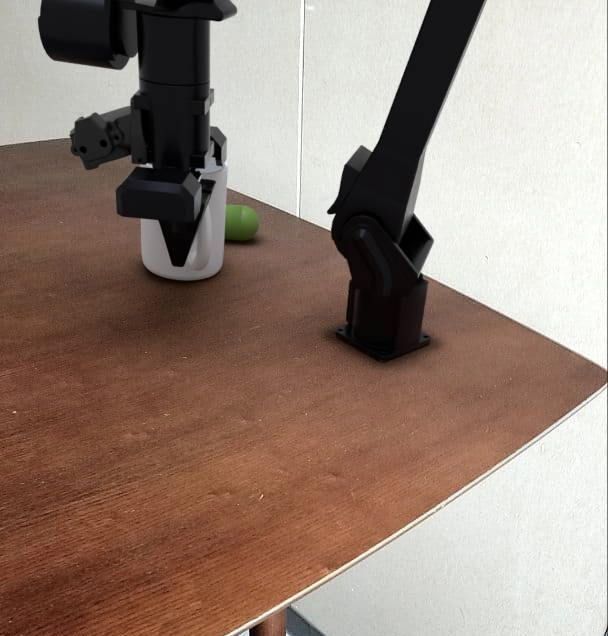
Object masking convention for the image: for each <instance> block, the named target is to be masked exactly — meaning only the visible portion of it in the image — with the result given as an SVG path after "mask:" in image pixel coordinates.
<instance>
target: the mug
mask: <svg viewBox="0 0 608 636" xmlns="http://www.w3.org/2000/svg"><path fill="white" fill-rule="evenodd" d="M139 167H147V168H152V164H148V163H147V164H146V165H141V164H139ZM228 170H229V165H228V162H227V160H226V161H225V163H224V165H223V167H222V166H216V161H215V158H213V157H211V159H210V161H209V163H208V164H207V166H206V168H205V169H198V171H200V173H202V178H201V179H211V180H215V181H216V185H215V188H214V190H213V193H212V195H211V198H210V200H209V203H208V206H207V208H206V211H205V213H204V216H203V219H202V221H201V224H200V226H199V229H198V231H197V234H196V237H195V239H194V242H193V244H192V247H191V250H190V252H189V255H188V258H187V260H186V263H185V265H184V267H174V266H172V264H171V260H170V257H169V254H168V250H167V247H166V244H165V240H164V237H163V234H162V230H161V227H160V224H159V221H158V220H150V219H140V249H141V250H140V251H141V252H140V253H141V260H142V263H143V265H144V267H146V269H147V270H149V271H150V272H151V273H153V275H157V276H159V277H161V278H166V279H169V280H174V281H175V280H176V281H199V280H205V279H209V278H210V277H213V276H215V275H216V274H217V273H218V272H220V270H221V269H222V266H223V263H224V251H225V239H224V234H225V213H226V204H227V192H228V191H227V190H228Z"/></svg>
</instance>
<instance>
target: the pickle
mask: <svg viewBox="0 0 608 636" xmlns="http://www.w3.org/2000/svg"><path fill="white" fill-rule="evenodd" d="M259 228H260V219H259V216H258V214H257V213H256V211H255V210H254V209H253V208H252V207H249V206H247V205H239V204H228V203H226V213H225V234H224V240H228V241H240V242H241V241H242V242H244V241H249V240H251V239H253V238H254V237H255V236H256V235H257V233H258V231H259Z"/></svg>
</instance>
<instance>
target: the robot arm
mask: <svg viewBox="0 0 608 636" xmlns="http://www.w3.org/2000/svg"><path fill="white" fill-rule="evenodd" d="M487 1H488V0H429V3H428V6H427V8H426V11H425V14H424V16H423V19H422V22H421V25H420V27H419V30H418V32H417V36H416V38H415V40H414V44H413V47H412V48H411V52H410V54H409V57H408V60H407V63H406V65H405V68H404V70H403V73H402V76H401V79H400V81H399V84H398V87H397V89H396V91H395V95H394V98H393V100H392V103H391V106H390V108H389V110H388V114H387V117H386V119H385V122H384V123H383V124H384V125H383V127H382V130H381V132H380V135H379V138H378V141H377V143H376V144H375V146H374V148H373V150H371V149H369V148H368V147H366V146H365V145H363V144H361V145H359V147H358V148H357V149H356V150H355V151H354V152H353V154H352V155H351V156H350V157H349V159H347V161H346V162H345V163H344V165H343V168H342V169H343V170H342V172H341V176H340V181H339V188H338V193H337V195H336V197H335V200H334V201H333V202H332V204H331V205H330V206H329V208H328V209H327V210H326V215H328V216H329V215H330V216H331V215H333V216H334V217H333V218H332V220H331V226H330V237H331V238H330V239H331V240H332V242H333V243H334V245H335V247H336V250H337V251H338V253H340V255H341V256H342V257H343V258H344V259H345V260H346V263H347V266H348V270H349V274H350V278H351V279H349V281H348V292H347V300H346V301H347V302H346V313H345V322H346V323H347V324H344V325H341V326H338V327H336V328H335V329H334V335H335V336H336V337H338V338H340V340H341V339H342V340H343V341H345V342H347V343H348V344H350V345H352V346H354V347H356V348H358V349H359V350H361V351H362V352H364V353H366V354H368V355H370V356H372V357H373V358H375V359H377V360H379V361H383V362H384V361H385V362H386V361H389V360H391V359H393V358H396V357H398V356H401V355H403V354H406V353H408V352H410V351H413V350H416V349H418V348H420V347H424V346H426V345H428V344H430V343H431V341H432V336H431V335H429V334H428V333H426V332H424V331H422V329H423V323H424V322H423V321H424V315H425V309H426V308H425V307H426V302H427V297H428V296H427V295H428V289H429V280H427V279H424V274H423V273H422V271H423V268H424V266H425V263H426V261H427V259H428V257H429V254H430V252H431V250H432V248H433V245H434V243H435V239H434V238H433V235H431V234H430V232H429V231H428V229H427V228H426V227H425V226H424V224H423V223H422V221H421V220H420V219H419V217H417V215H416V214H415V209H416V204H417V199H418V196H419V190H420V186H421V183H422V182H421V181H422V175H423V169H424V164H425V157H426V152H427V148H428V146H429V143H430V140H431V139H432V137H433V134H434V131H435V129H436V126H437V124H438V121H439V118H440V116H441V114H442V111H443V109H444V107H445V104H446V102H447V99H448V97H449V95H450V92H451V89H452V87H453V85H454V82H455V80H456V77H457V74H458V72H459V70H460V68H461V65H462V63H463V60H464V58H465V56H466V53H467V51H468V49H469V46H470V43H471V41H472V39H473V36H474V33H475V31H476V29H477V26H478V24H479V21H480V19H481V16H482V13H483V12H484V9H485V7H486V4H487V3H488V2H487ZM237 14H238V8H237V6H236V4H234V3H233V2H232V0H41V2H40V9H39V16H38V17H37V29H38V33H39V39H40V42H41V45H42V48H43V49H44V51H45V54H46V55H47V57H48V58H49V59H51V60H52V61H54V62H58V63H66V64H72V65H73V64H74V65H81V66H87V67H94V68H102V69H107V70H108V69H109V70H115V71H122V70H124V68H126V66H127V65H128V63H129V61H130V59H133V58H135V57H137V67H138V90H136V91H135V93H134V94H133V95H132V96H131V97H130V100H129V105H127V106H122V107H120V108H117V109H113V110H110V111H107V112H104V113H100V114H99V113H98V112H96V111H95V112H92V113H91V114H90V115H88V116H86V117H84V116H83V115H81V116H79V117H78V118H77V119H76V120H75V121H74V127H73V128H72V129H71V130H70V131H69V134H68V136H69V138H70V141H71V146H70V153H71V154H72V155H73V156H74V157H79V158H80V160H81V162H82V165H83V167H84V169H85V171H91V170H95V169H98V168H99V167H100V165H103V164H106V163H110V162H113V161H117V160H121V159H123V158H127V157H131V158H130V159H131V164H133V165H140V164H141V165H146V164H147V163H148V164H152V168H147V167H140V166H135V167H134V168H133V169H132V170H131V171H130V172H129V173H128V174H127V175H125V177H124V178H123V179H122V181H121V182H120V183H119V184H118V186H117V187H116V188H115V190H114V192H115V206H116V214H117V215H118V216H120V217H122V218H131V219H140V220H141V219H150V220H158V221H159V224H160V227H161V230H162V234H163V237H164V240H165V244H166V247H167V250H168V254H169V257H170V260H171V264H172V266H174V267H184V265H185V263H186V260H187V258H188V255H189V252H190V250H191V247H192V244H193V242H194V239H195V237H196V234H197V231H198V229H199V226H200V224H201V221H202V219H203V216H204V213H205V211H206V208H207V206H208V203H209V200H210V198H211V195H212V193H213V190H214V188H215V185H216V181H215V180H211V179H201V178H202V173H200V171H198V169H205V168H206V166H207V164H208V163H209V161H210V159H211V157H213V158H215V161H216V166H222V167H223V165H224V163H225V161H226V162H227V159H228V157H227V156H228V155H227V154H228V137H226V135H225V134H224V133H223V131H222V130H221V129H220V128H219V127H218V126H214V125H213V126H212V125H211V107H212V106H213V104H214V103H215V88H211V22H216V23H218V22H219V23H220V22H223V21H225V20H228V19H231V18H233V17H235V16H237Z"/></svg>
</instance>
